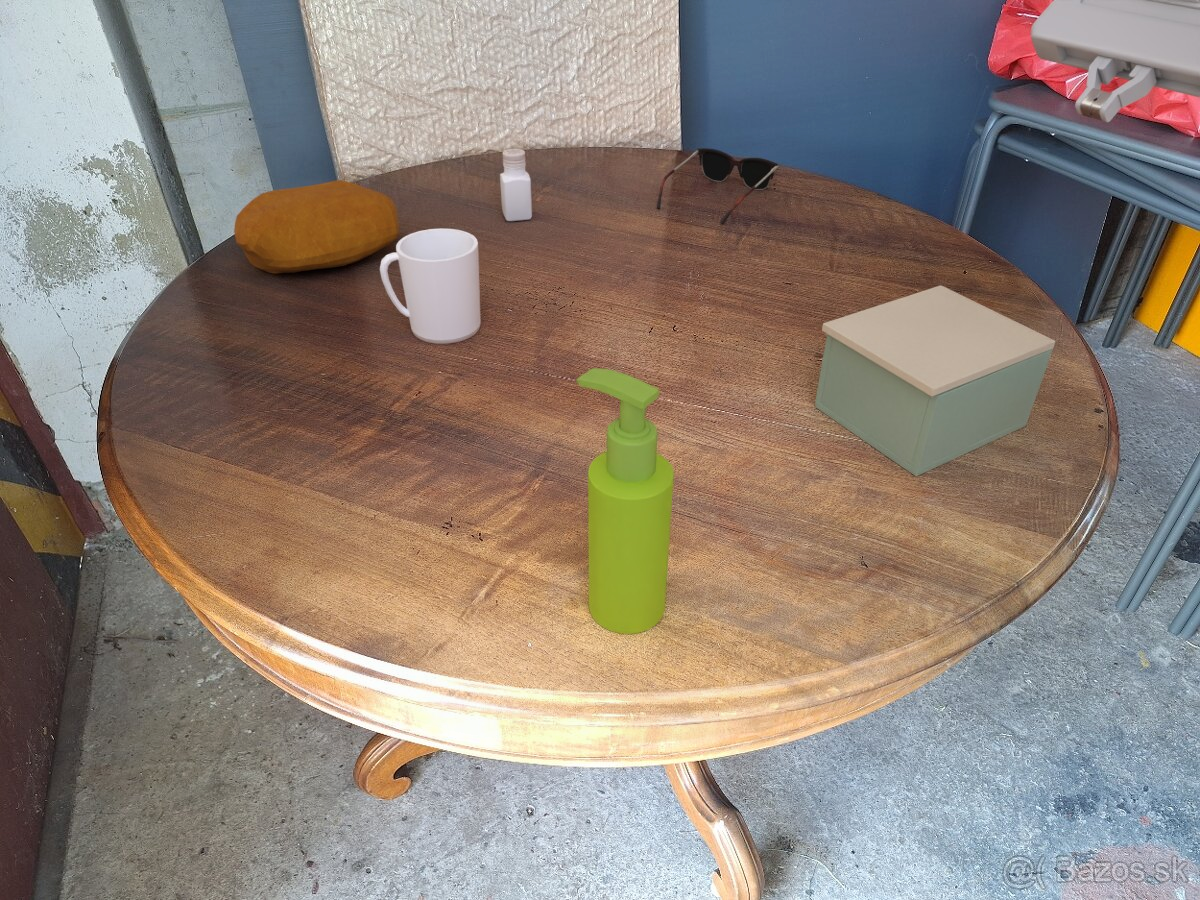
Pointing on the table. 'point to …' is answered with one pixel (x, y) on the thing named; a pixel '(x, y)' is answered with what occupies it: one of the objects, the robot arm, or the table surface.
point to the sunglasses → (721, 166)
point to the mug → (438, 284)
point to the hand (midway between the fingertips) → (1090, 114)
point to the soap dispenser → (628, 511)
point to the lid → (937, 339)
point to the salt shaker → (515, 186)
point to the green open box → (924, 407)
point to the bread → (315, 226)
